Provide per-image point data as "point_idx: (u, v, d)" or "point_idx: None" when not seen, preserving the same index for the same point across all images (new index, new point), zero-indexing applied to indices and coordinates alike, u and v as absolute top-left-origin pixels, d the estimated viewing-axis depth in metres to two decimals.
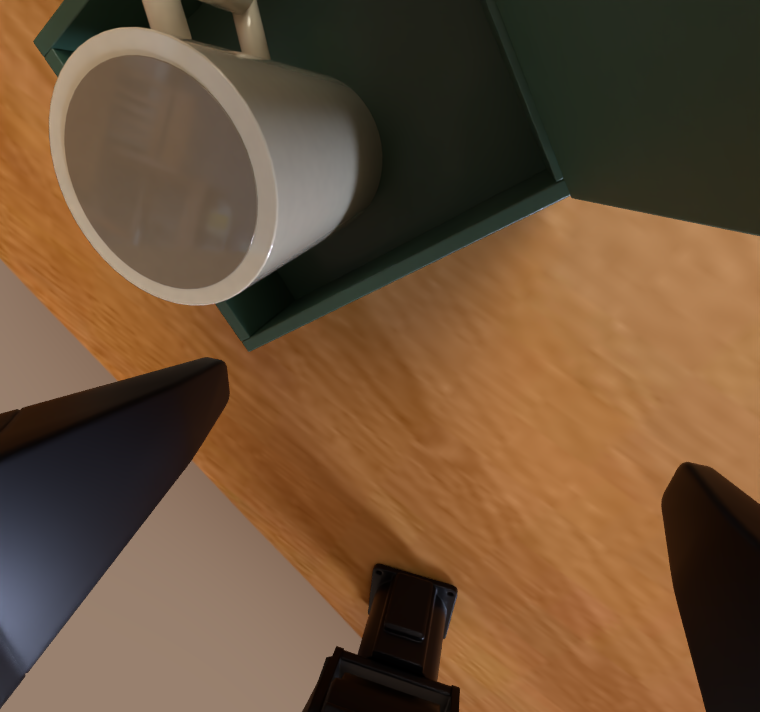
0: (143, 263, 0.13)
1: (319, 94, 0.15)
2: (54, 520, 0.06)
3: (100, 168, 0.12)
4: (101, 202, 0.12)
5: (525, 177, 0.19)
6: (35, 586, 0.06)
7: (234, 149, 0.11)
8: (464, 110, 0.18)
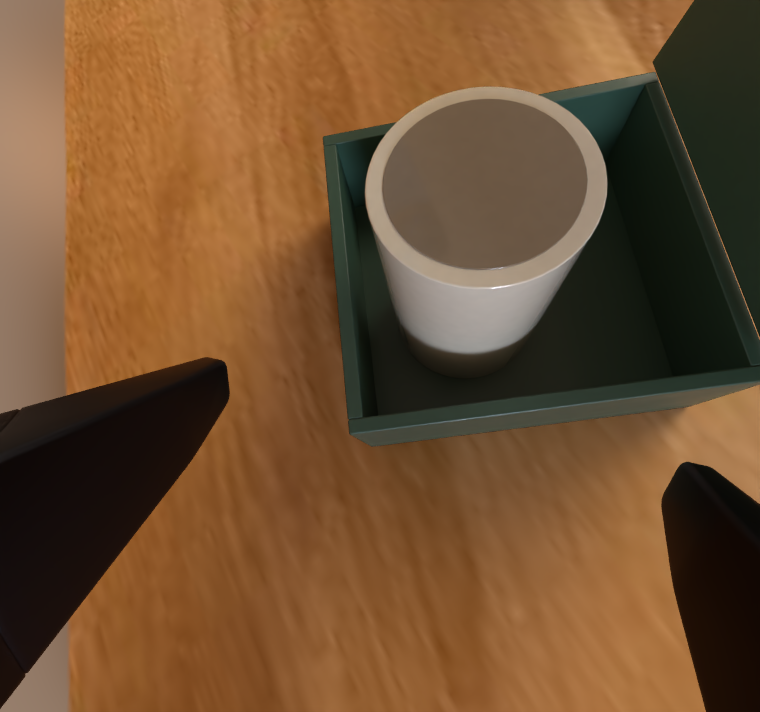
0: (416, 231, 0.12)
1: None
2: (54, 520, 0.06)
3: (429, 153, 0.13)
4: (410, 174, 0.13)
5: None
6: (35, 586, 0.06)
7: (576, 175, 0.12)
8: (611, 326, 0.22)
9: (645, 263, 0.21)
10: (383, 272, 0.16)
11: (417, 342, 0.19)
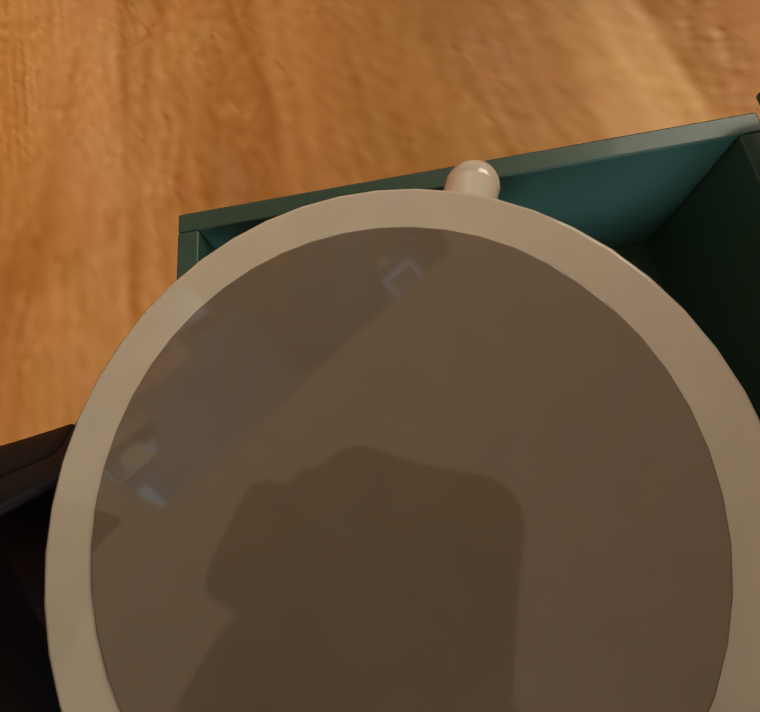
0: (162, 687, 0.04)
1: None
2: None
3: (243, 390, 0.05)
4: (178, 462, 0.04)
5: None
6: None
7: (693, 522, 0.04)
8: None
9: None
10: None
11: None
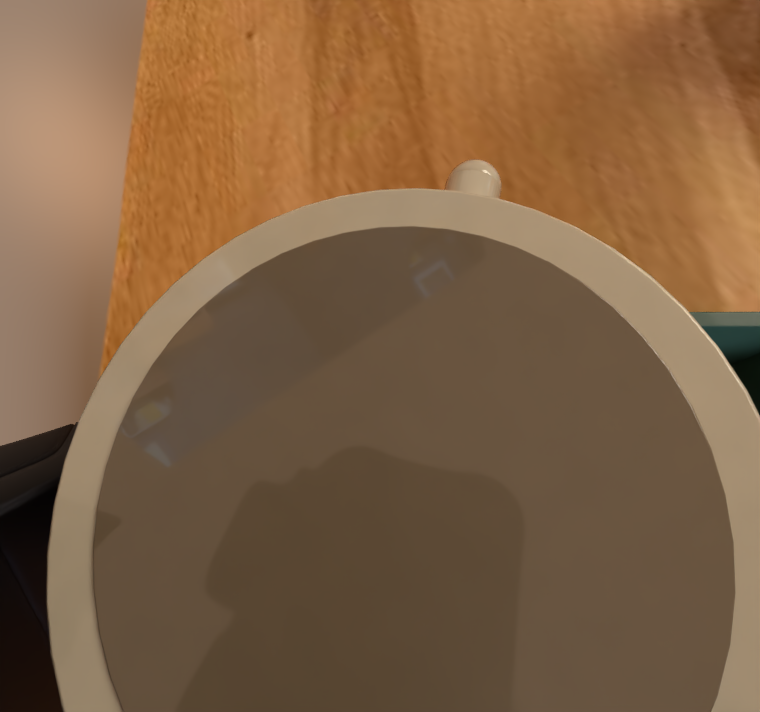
0: (164, 686, 0.04)
1: None
2: None
3: (244, 389, 0.05)
4: (180, 461, 0.04)
5: None
6: None
7: (696, 522, 0.04)
8: None
9: None
10: None
11: None
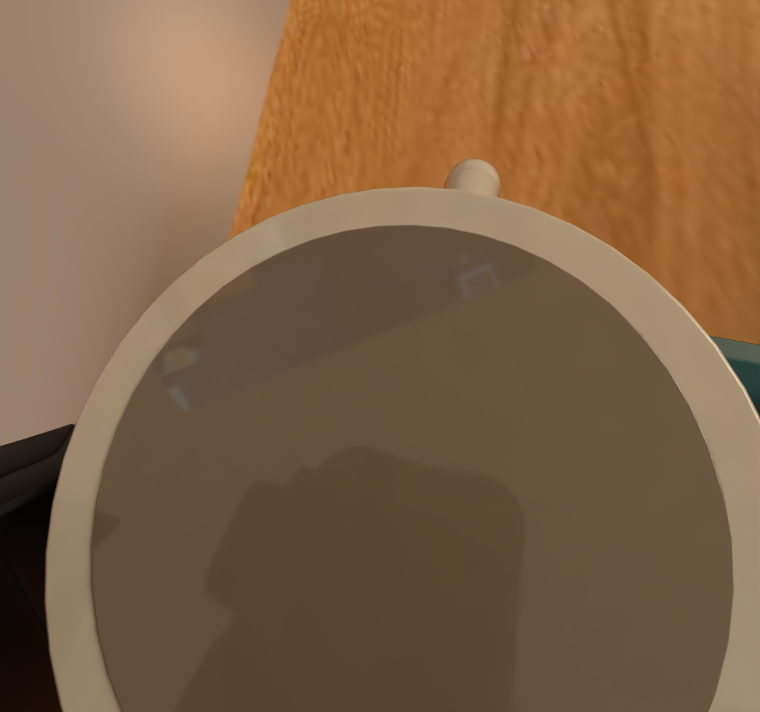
0: (162, 685, 0.04)
1: None
2: None
3: (243, 388, 0.05)
4: (178, 460, 0.04)
5: None
6: None
7: (694, 521, 0.04)
8: None
9: None
10: None
11: None
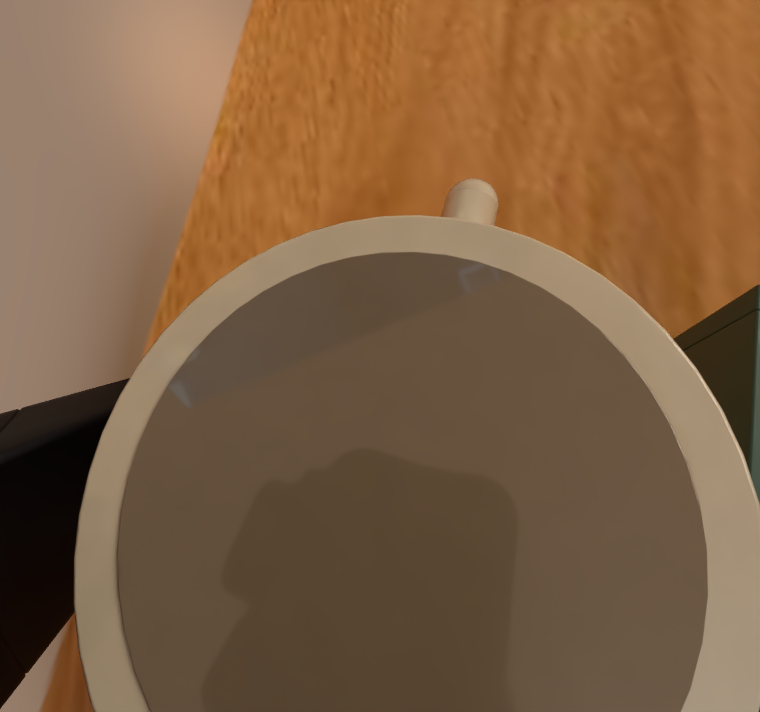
0: (185, 681, 0.04)
1: None
2: (54, 520, 0.06)
3: (256, 405, 0.05)
4: (197, 472, 0.05)
5: None
6: (35, 586, 0.06)
7: (672, 530, 0.04)
8: None
9: None
10: None
11: None
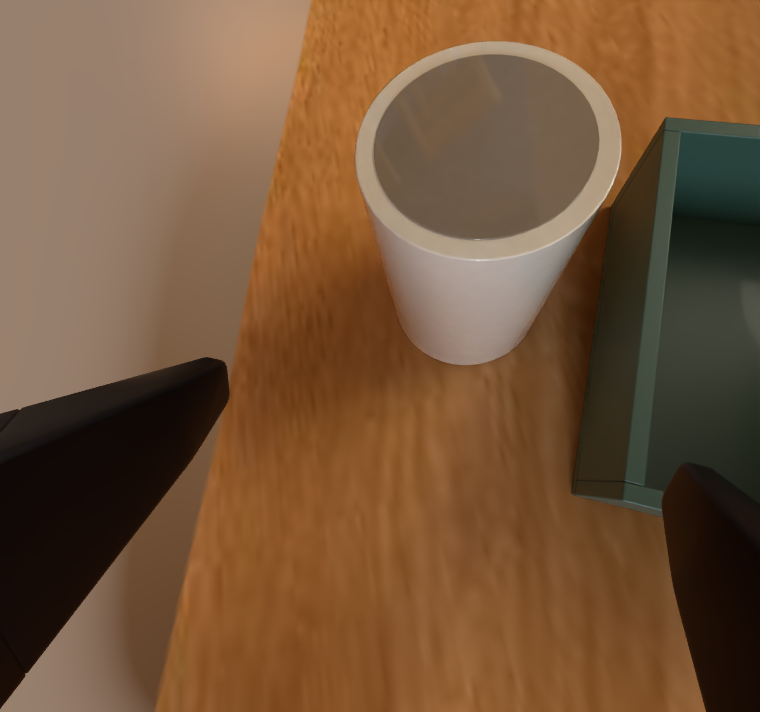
0: (410, 199, 0.11)
1: None
2: (54, 520, 0.06)
3: (424, 115, 0.12)
4: (404, 138, 0.12)
5: None
6: (35, 586, 0.06)
7: (587, 133, 0.11)
8: None
9: None
10: None
11: (415, 326, 0.18)
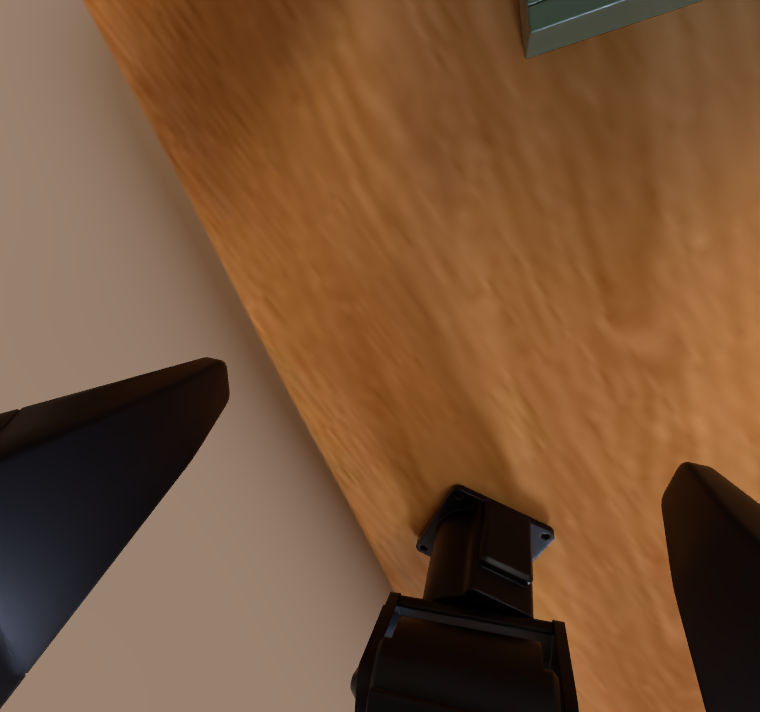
0: None
1: None
2: (54, 520, 0.06)
3: None
4: None
5: None
6: (35, 586, 0.06)
7: None
8: None
9: None
10: None
11: None
